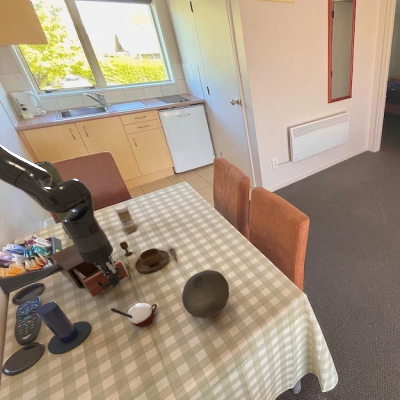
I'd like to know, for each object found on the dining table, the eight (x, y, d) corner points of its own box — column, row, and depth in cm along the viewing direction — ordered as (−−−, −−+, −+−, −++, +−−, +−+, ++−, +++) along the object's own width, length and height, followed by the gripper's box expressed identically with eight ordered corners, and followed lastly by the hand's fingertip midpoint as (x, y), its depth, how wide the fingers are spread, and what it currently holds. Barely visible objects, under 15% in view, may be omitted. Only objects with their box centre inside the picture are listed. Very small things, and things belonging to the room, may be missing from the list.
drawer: (134, 280, 97) (126, 265, 94) (99, 302, 89) (89, 287, 85) (110, 263, 105) (102, 249, 102) (75, 282, 97) (66, 267, 93)
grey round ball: (179, 327, 82) (164, 294, 74) (202, 290, 94) (192, 259, 86) (222, 332, 80) (211, 299, 73) (240, 294, 92) (233, 263, 85)
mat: (56, 360, 73) (55, 359, 73) (42, 343, 78) (41, 341, 78) (97, 331, 81) (96, 330, 81) (82, 317, 85) (81, 315, 85)
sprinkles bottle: (125, 235, 122) (114, 210, 115) (126, 230, 125) (114, 206, 119) (137, 232, 124) (126, 207, 117) (137, 227, 128) (126, 203, 121)
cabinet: (116, 266, 105) (107, 249, 100) (79, 288, 95) (66, 270, 91) (99, 254, 111) (89, 237, 107) (62, 273, 102) (49, 255, 97)
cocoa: (158, 307, 88) (146, 282, 82) (162, 321, 84) (149, 295, 78) (125, 323, 83) (109, 297, 77) (127, 338, 79) (110, 312, 73)
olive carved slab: (71, 243, 117) (26, 170, 100) (66, 232, 124) (23, 163, 107) (95, 233, 123) (56, 163, 105) (89, 224, 130) (51, 156, 112)
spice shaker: (64, 346, 77) (39, 317, 70) (57, 338, 78) (33, 310, 72) (81, 334, 80) (59, 305, 73) (74, 327, 81) (52, 299, 75)
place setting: (129, 283, 97) (123, 271, 94) (122, 254, 111) (116, 243, 108) (180, 261, 107) (176, 250, 104) (167, 237, 120) (163, 227, 117)
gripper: (117, 243, 80) (137, 283, 89) (96, 230, 86) (117, 269, 94) (88, 258, 74) (113, 300, 83) (68, 243, 80) (93, 283, 89)
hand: (115, 283), depth 89 cm, fingers closed
